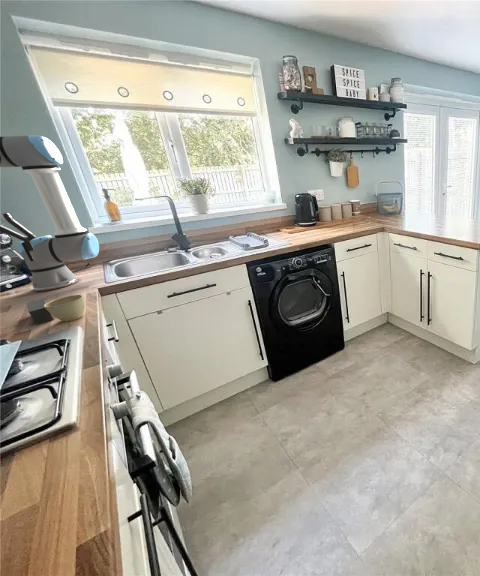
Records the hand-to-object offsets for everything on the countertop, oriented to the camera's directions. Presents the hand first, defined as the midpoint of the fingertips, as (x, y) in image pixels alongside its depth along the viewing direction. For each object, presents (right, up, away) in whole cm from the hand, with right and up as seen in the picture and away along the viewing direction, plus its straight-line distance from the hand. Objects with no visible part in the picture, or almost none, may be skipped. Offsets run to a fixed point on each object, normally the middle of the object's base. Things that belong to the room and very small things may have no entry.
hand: (4, 265), depth 104 cm
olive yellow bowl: (+16, -19, +7) cm, 26 cm away
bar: (+2, -18, +10) cm, 21 cm away
